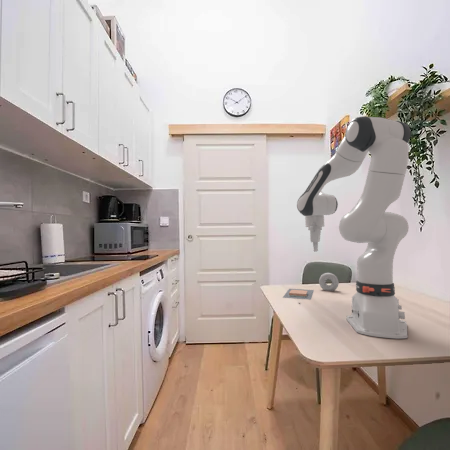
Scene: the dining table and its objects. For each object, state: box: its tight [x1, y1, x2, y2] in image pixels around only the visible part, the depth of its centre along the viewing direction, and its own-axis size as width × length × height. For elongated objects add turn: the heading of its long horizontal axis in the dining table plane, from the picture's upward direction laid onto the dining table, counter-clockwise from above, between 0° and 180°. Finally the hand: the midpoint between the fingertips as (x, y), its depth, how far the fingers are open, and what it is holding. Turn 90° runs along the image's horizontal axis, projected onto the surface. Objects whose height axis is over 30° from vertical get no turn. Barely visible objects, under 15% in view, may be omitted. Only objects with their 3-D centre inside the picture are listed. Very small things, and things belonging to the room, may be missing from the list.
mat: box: [282, 288, 315, 301], centre depth 142 cm, size 22×13×1 cm, turn 159°
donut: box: [318, 272, 340, 292], centre depth 150 cm, size 10×3×10 cm, turn 60°
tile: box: [289, 289, 307, 297], centre depth 140 cm, size 2×8×8 cm
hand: (315, 251), depth 138 cm, fingers closed
